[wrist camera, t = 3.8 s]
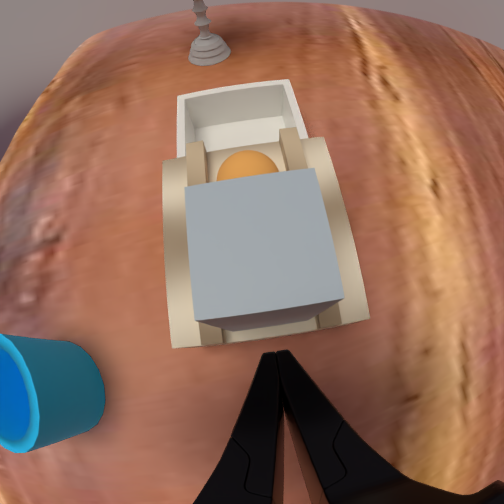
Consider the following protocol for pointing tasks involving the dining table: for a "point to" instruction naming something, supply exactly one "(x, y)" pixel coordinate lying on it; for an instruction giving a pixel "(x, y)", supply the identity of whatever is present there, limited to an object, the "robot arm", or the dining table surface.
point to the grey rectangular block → (260, 251)
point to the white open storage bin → (237, 115)
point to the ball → (246, 165)
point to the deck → (176, 245)
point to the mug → (46, 392)
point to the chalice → (206, 40)
